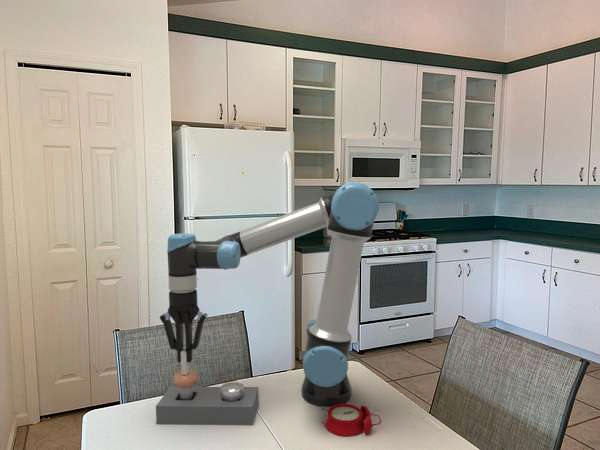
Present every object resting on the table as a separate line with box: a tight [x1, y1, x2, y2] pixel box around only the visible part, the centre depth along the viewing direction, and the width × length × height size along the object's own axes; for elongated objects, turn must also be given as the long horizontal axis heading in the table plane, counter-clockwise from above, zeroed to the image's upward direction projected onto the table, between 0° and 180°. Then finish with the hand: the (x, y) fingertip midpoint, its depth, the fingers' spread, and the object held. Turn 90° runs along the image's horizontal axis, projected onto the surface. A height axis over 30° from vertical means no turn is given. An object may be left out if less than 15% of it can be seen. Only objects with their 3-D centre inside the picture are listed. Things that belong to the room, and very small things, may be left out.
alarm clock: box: [322, 403, 382, 437], centre depth 118 cm, size 10×6×15 cm
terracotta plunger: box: [173, 368, 199, 400], centre depth 126 cm, size 6×6×7 cm
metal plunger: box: [220, 381, 245, 401], centre depth 125 cm, size 6×6×7 cm
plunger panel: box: [155, 386, 260, 426], centre depth 126 cm, size 26×12×5 cm, turn 88°
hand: (185, 372), depth 125 cm, fingers closed
